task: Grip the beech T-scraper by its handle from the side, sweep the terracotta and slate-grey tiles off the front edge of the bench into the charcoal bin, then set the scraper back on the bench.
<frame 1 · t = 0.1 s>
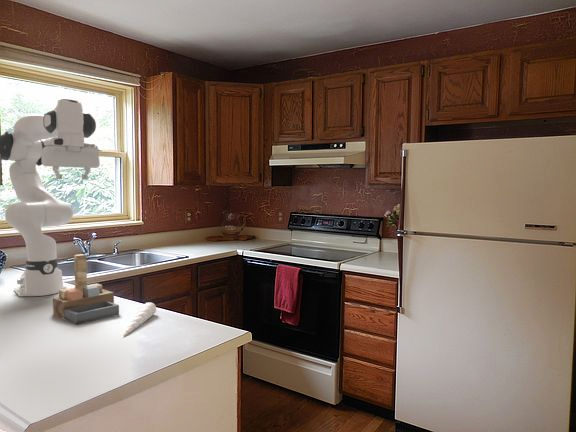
hand: (72, 179, 167), 48 cm above the counter, tool pointing down, fingers open, 8 cm apart
terracotta tile: (74, 298, 156), point 6 cm above the counter, touching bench
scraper: (81, 294, 162), point 6 cm above the counter, touching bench
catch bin: (92, 317, 154), on the counter
unicorn horn: (139, 325, 147), on the counter
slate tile: (91, 295, 161), point 6 cm above the counter, touching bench
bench: (84, 311, 161), on the counter
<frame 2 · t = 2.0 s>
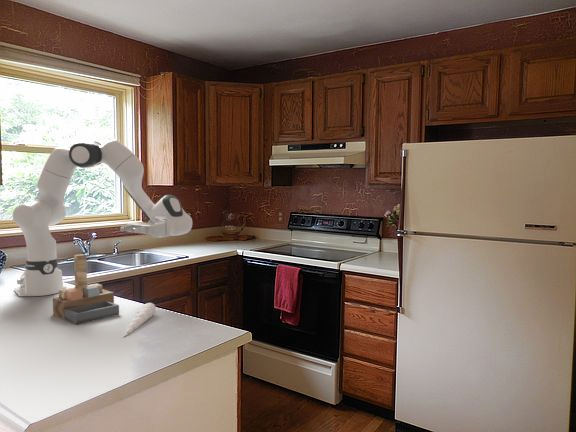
hand: (127, 229, 175), 28 cm above the counter, tool horizontal, fingers open, 8 cm apart
nothing on the counter moved.
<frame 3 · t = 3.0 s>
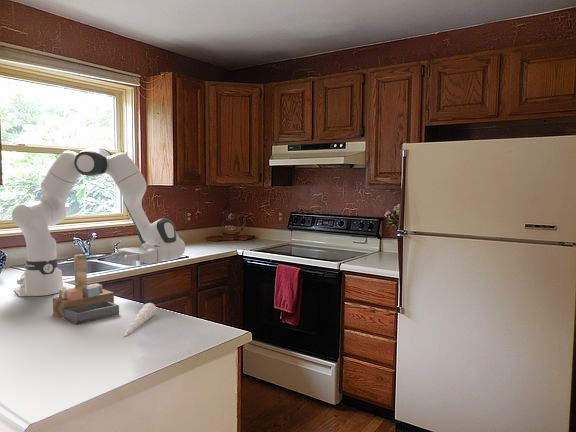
hand: (118, 257, 173), 18 cm above the counter, tool horizontal, fingers open, 8 cm apart
nothing on the counter moved.
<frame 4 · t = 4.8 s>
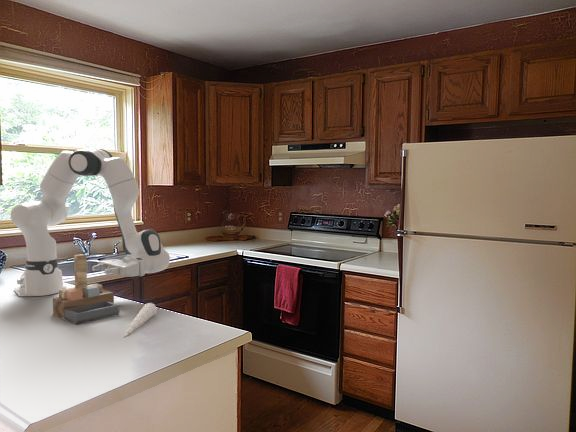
hand: (98, 270, 167), 14 cm above the counter, tool horizontal, fingers open, 8 cm apart
nothing on the counter moved.
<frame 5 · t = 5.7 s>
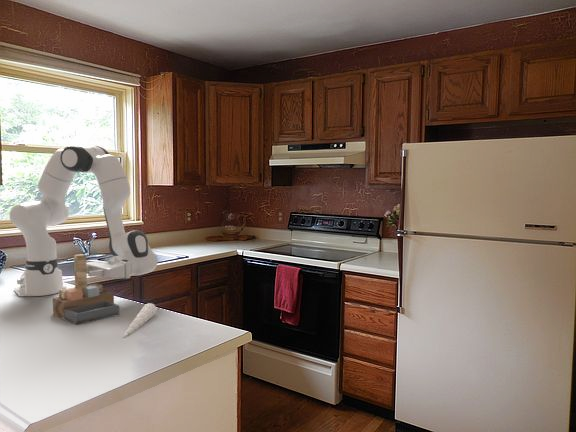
hand: (82, 272, 162), 14 cm above the counter, tool horizontal, fingers open, 8 cm apart
nothing on the counter moved.
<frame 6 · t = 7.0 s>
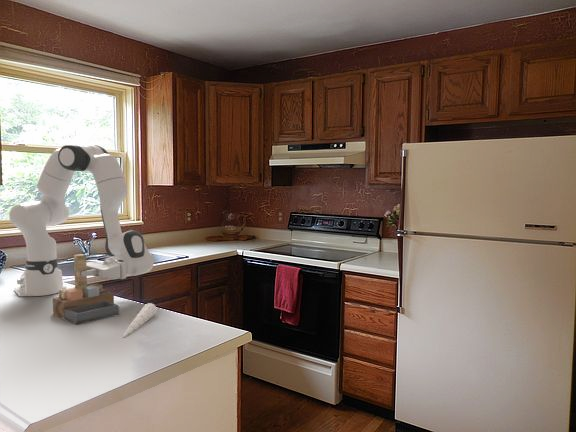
hand: (78, 272, 161), 14 cm above the counter, tool horizontal, fingers closed on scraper, 3 cm apart
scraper: (81, 294, 162), point 6 cm above the counter, touching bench, gripper
everything else where it was.
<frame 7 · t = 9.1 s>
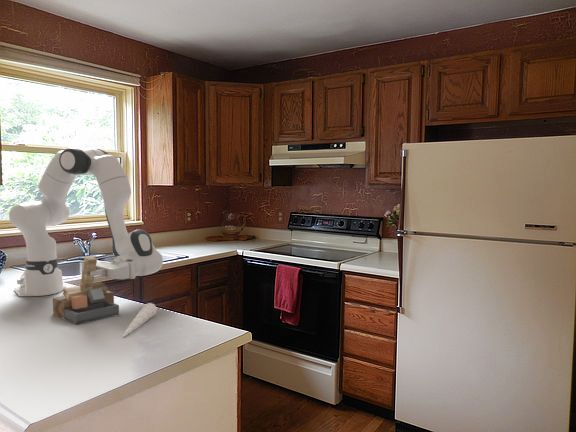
hand: (86, 272, 157), 15 cm above the counter, tool horizontal, fingers closed on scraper, 4 cm apart
terracotta tile: (77, 301, 154), point 5 cm above the counter, tilted 85°
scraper: (85, 293, 160), point 7 cm above the counter, tilted 21°, touching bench, gripper
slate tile: (94, 297, 159), point 6 cm above the counter, tilted 55°, touching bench
everything else where it was.
when the fingers open (14 cm above the counter, at t = 11.7 s): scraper stays where it is, resting on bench.
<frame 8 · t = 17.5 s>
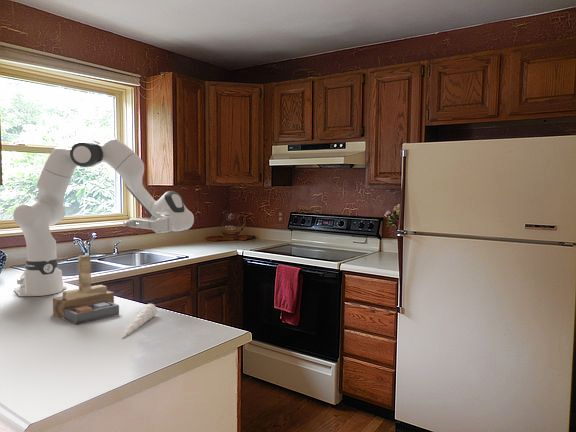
hand: (130, 224, 178), 30 cm above the counter, tool horizontal, fingers open, 8 cm apart
terracotta tile: (83, 308, 151), point 4 cm above the counter, tilted 180°, touching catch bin
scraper: (85, 295, 160), point 6 cm above the counter, touching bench
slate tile: (101, 304, 156), point 4 cm above the counter, tilted 180°, touching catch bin
at the end: terracotta tile inside the target area (3.2 cm from its centre), point 4.0 cm above the counter; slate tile inside the target area (3.1 cm from its centre), point 4.0 cm above the counter; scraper tilted 0° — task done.
